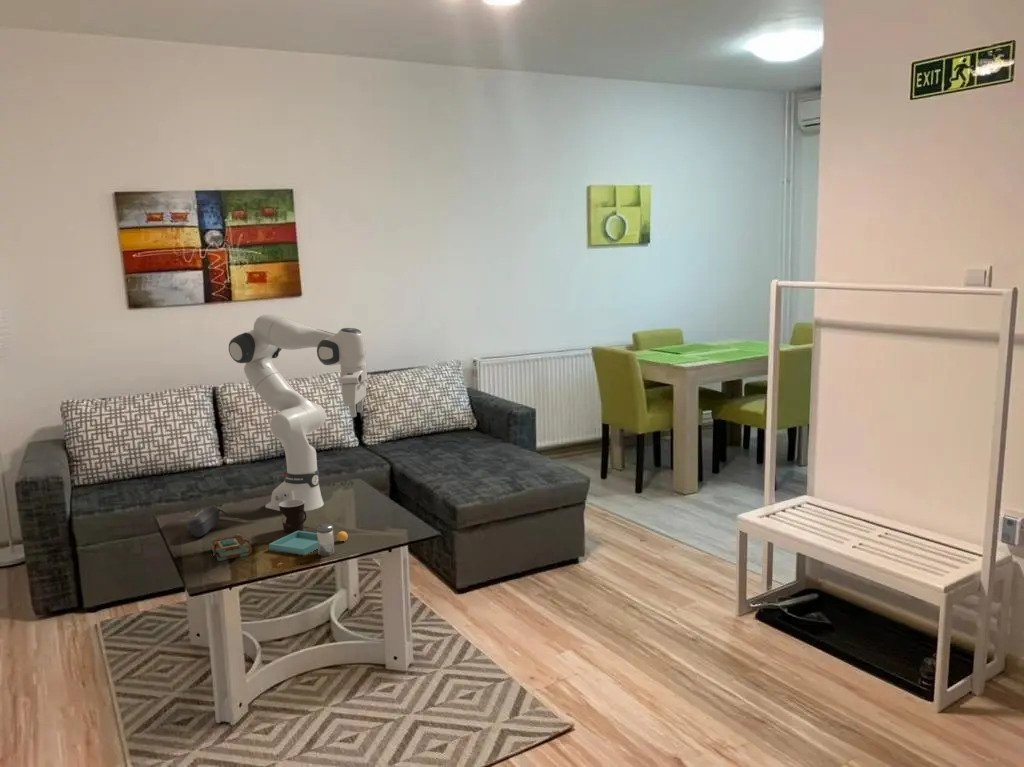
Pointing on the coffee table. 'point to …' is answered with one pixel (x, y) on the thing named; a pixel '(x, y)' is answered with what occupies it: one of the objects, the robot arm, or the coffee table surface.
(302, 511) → the coffee mug
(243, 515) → the coffee table surface
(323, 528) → the cup
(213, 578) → the coffee table surface
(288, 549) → the tray
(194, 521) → the glasses case
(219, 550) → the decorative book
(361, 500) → the coffee table surface
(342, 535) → the ball
